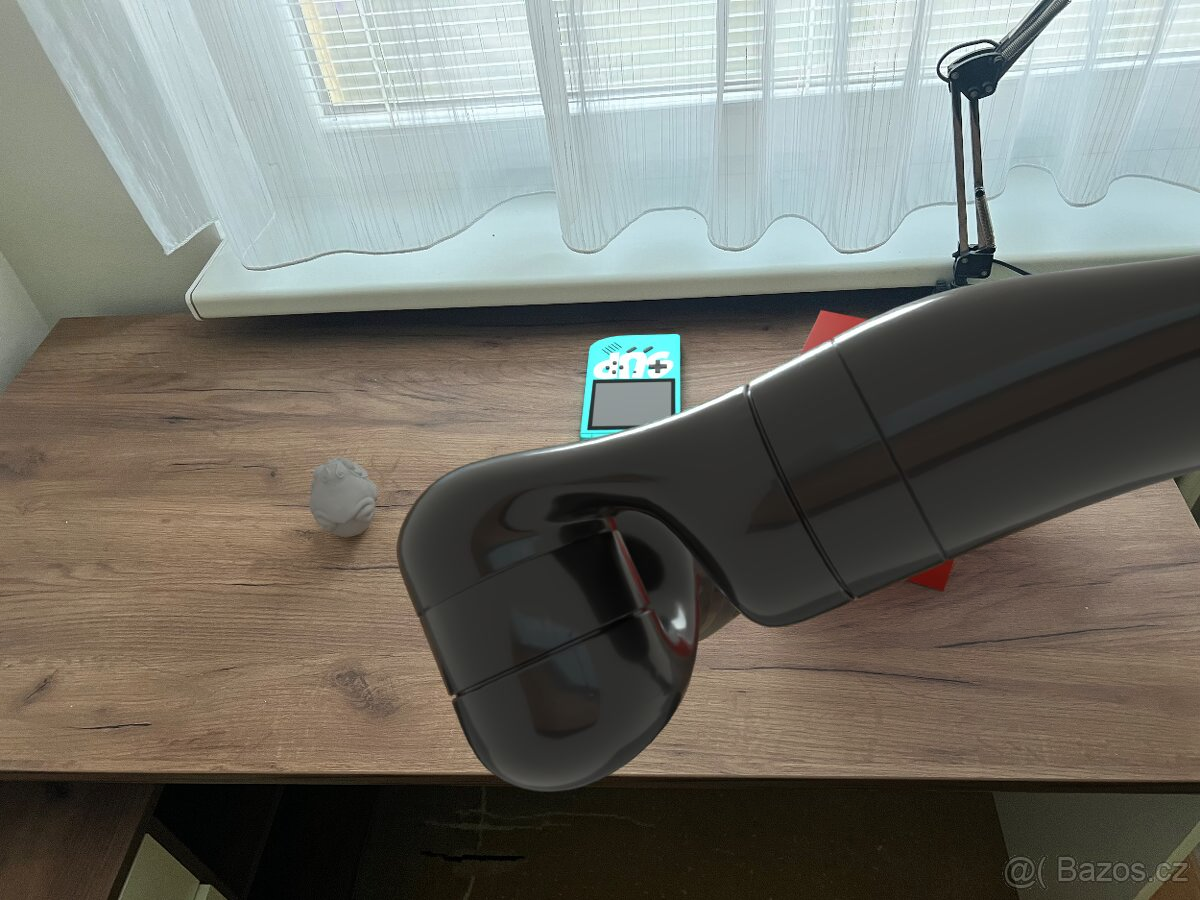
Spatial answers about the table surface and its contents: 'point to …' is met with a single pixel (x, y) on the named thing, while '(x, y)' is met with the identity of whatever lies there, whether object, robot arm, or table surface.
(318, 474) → the frog figurine
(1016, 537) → the table surface
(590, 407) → the handheld game console
